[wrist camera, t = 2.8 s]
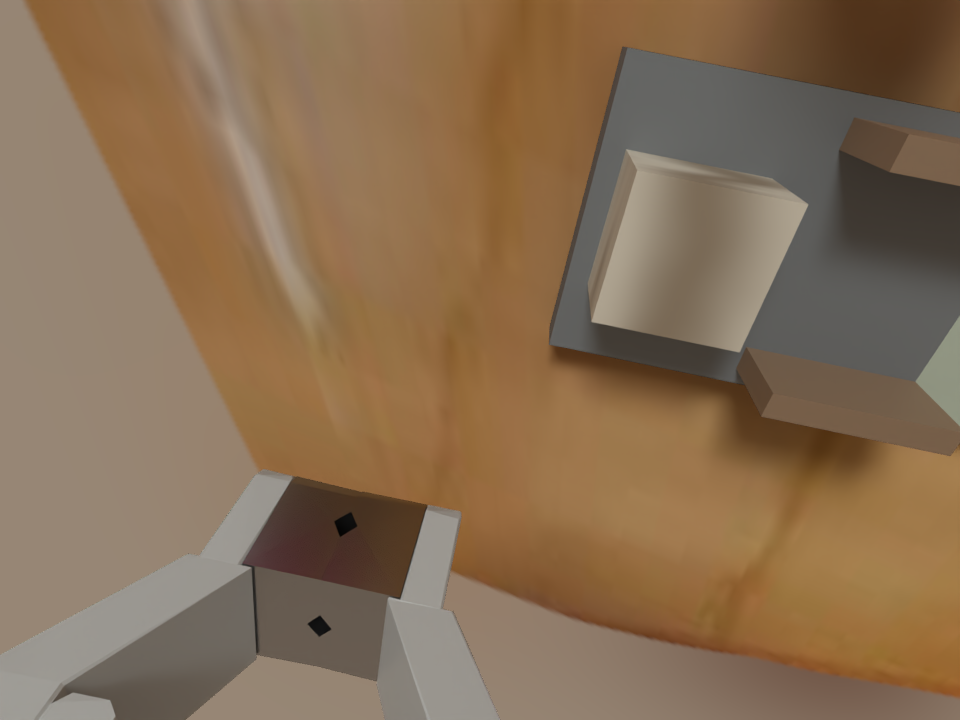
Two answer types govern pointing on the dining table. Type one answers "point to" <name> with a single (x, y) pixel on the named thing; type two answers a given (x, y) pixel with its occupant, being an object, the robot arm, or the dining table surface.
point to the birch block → (690, 250)
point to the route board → (804, 246)
